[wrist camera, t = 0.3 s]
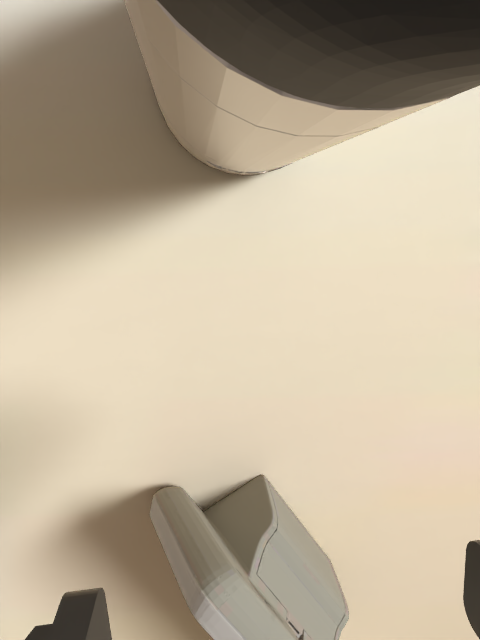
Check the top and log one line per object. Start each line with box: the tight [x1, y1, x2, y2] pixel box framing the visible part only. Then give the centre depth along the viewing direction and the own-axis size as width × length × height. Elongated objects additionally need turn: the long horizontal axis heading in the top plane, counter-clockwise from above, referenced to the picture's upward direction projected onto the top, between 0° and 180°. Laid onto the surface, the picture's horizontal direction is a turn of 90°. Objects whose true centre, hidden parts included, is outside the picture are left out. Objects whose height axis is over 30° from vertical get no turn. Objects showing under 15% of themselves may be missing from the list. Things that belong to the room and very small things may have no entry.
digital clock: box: [150, 475, 349, 640], centre depth 25 cm, size 16×9×11 cm, turn 22°
